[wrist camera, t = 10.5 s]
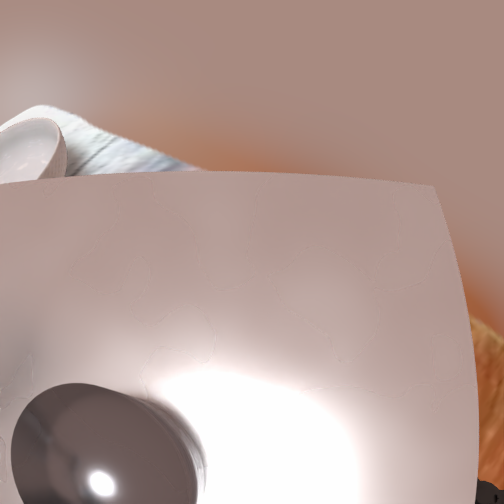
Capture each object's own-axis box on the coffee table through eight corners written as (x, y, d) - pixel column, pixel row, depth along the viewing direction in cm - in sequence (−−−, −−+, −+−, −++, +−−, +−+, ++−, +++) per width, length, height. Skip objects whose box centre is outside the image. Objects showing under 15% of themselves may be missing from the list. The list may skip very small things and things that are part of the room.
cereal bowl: (-3, 291, 27) (-42, 260, 21) (-30, 214, 32) (-56, 184, 26) (104, 190, 33) (81, 144, 27) (54, 139, 39) (35, 102, 32)
